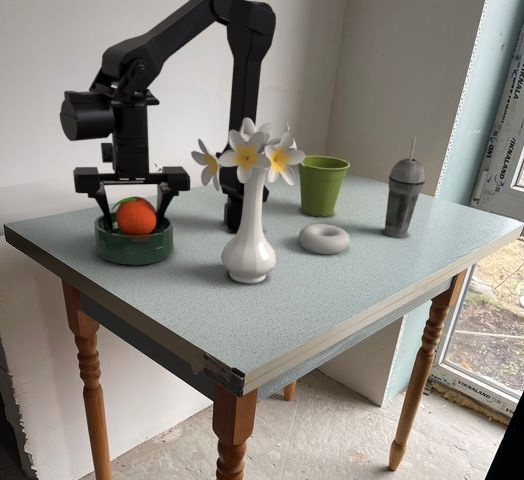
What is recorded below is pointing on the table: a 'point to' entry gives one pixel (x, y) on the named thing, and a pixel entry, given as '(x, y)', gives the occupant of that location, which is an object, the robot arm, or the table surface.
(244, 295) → the table surface
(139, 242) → the colander handles
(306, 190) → the plant pot
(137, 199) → the clementine
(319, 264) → the table surface
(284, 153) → the flower vase
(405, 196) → the beverage cup
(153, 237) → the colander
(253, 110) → the robot arm
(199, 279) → the table surface
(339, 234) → the donut
